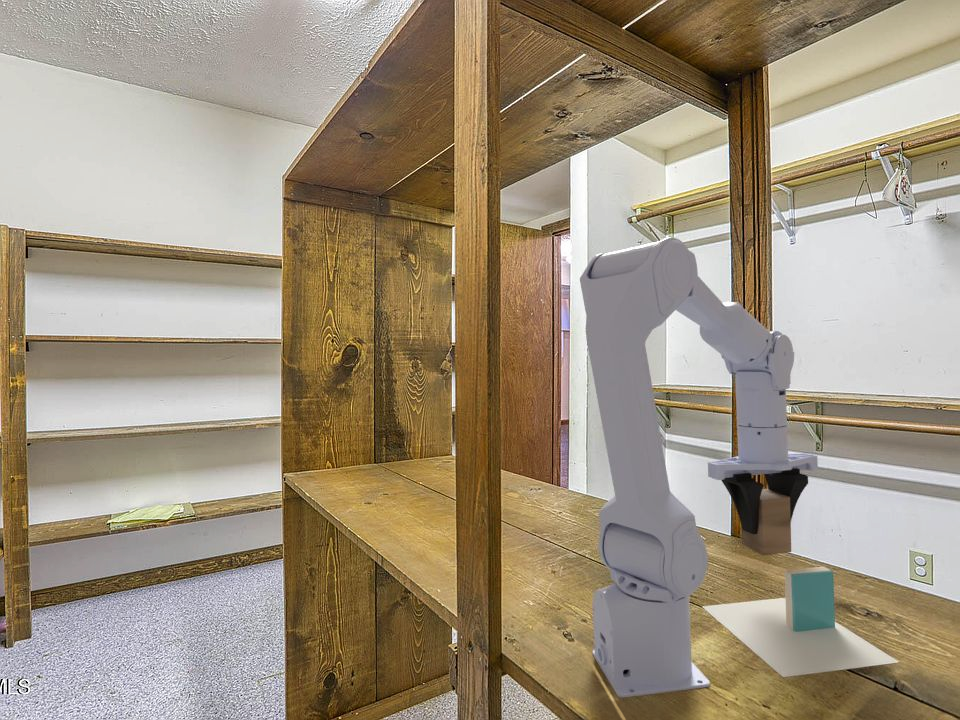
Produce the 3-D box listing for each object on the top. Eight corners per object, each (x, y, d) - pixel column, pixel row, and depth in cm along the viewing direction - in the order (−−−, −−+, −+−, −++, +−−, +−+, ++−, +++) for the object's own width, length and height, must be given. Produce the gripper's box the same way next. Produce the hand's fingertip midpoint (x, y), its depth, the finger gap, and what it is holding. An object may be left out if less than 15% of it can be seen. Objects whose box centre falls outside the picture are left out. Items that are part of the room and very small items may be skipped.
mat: (783, 680, 53) (782, 676, 53) (701, 609, 68) (701, 606, 68) (899, 666, 54) (899, 662, 54) (795, 599, 69) (795, 596, 69)
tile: (795, 631, 61) (793, 575, 61) (786, 625, 62) (784, 570, 62) (835, 627, 62) (833, 571, 61) (825, 621, 63) (823, 566, 63)
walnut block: (742, 544, 70) (740, 491, 70) (768, 540, 71) (767, 488, 71) (763, 555, 66) (761, 500, 66) (791, 551, 67) (790, 497, 67)
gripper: (731, 433, 63) (735, 546, 63) (836, 424, 66) (839, 533, 66) (696, 425, 70) (700, 528, 70) (792, 418, 73) (796, 516, 73)
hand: (765, 529), depth 69 cm, fingers closed on walnut block, 4 cm apart
